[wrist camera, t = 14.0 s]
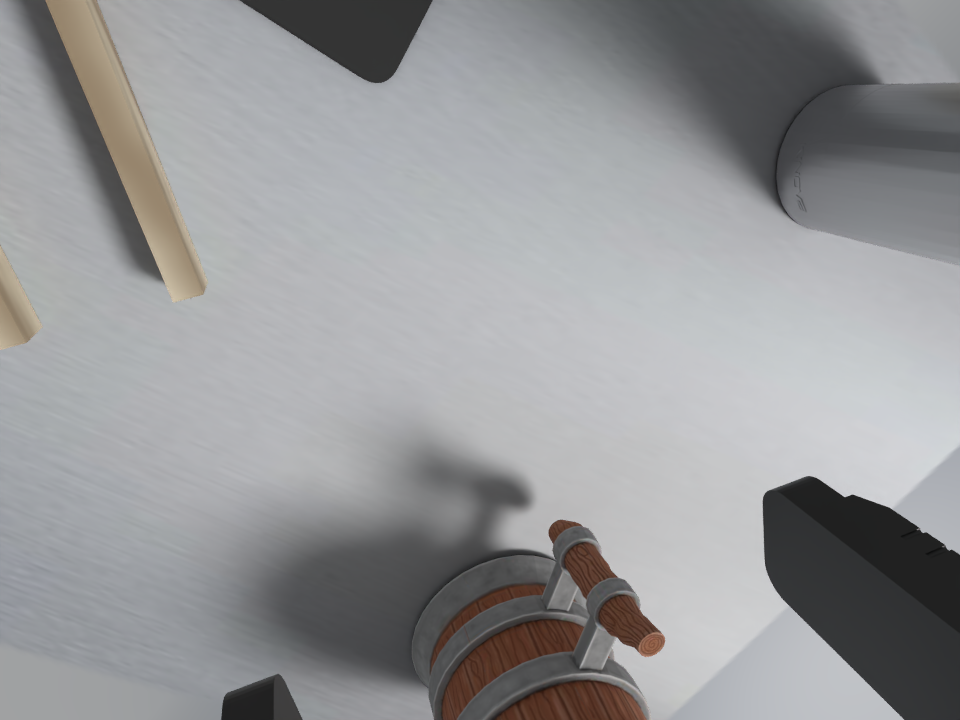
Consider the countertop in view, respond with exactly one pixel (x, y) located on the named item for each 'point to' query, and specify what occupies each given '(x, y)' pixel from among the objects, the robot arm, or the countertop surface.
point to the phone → (351, 30)
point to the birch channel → (73, 5)
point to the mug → (535, 638)
